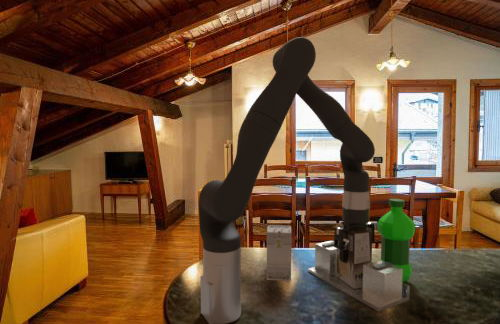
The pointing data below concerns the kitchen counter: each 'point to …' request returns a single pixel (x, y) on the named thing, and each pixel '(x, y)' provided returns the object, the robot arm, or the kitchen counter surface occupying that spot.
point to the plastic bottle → (396, 237)
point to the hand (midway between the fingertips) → (354, 259)
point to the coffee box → (355, 257)
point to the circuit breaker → (279, 252)
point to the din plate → (374, 279)
